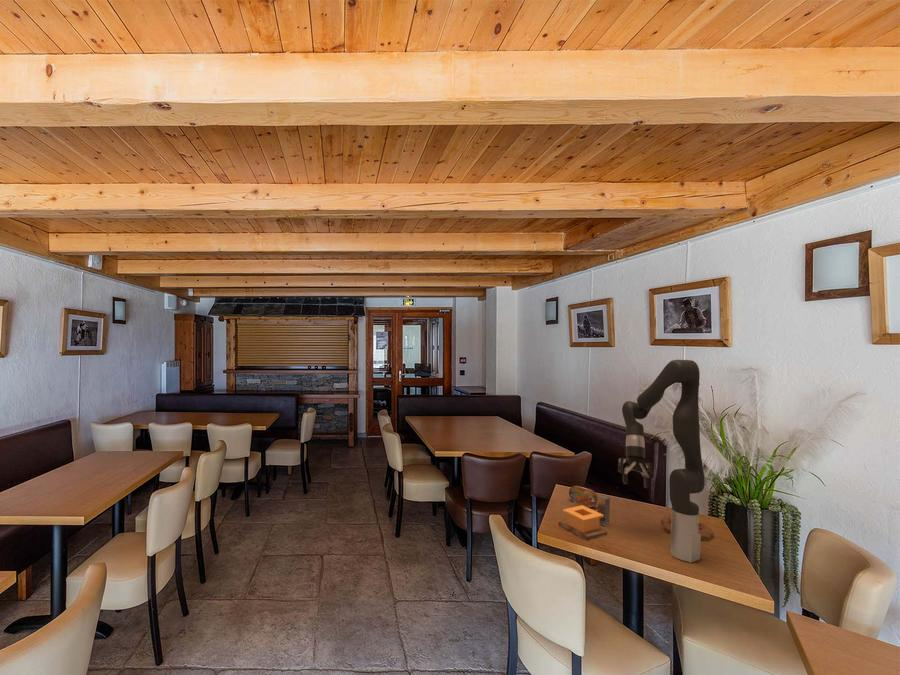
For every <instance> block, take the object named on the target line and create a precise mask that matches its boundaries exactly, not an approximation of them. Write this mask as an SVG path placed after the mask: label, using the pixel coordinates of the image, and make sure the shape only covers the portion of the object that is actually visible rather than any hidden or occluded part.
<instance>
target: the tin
mask: <svg viewBox="0 0 900 675" xmlns="http://www.w3.org/2000/svg"><path fill="white" fill-rule="evenodd" d="M568 496H569V498H570V500H571V501H572V502H573V503H574V502H575V503H574V504H577V503H578V504H577V505H579V506H581V505H583V506H585V507H587V508H589V507H590V508H593V507H596V506H597V505H598V495H597V493H596V492H595V491H594V490H593V489H590V488H587V487H582V486H579V485H572V486H571V487H570V488H569V491H568Z"/></svg>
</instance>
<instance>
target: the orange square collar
mask: <svg viewBox="0 0 900 675" xmlns="http://www.w3.org/2000/svg"><path fill="white" fill-rule="evenodd" d="M562 512H563V513H565V514H566V519H565V520H566V524H567V525H569V526H571V527H573V528H575V529H577V530H579V531H581V532H583V533H585V532H588V531H592V530H596V529H599V527H600V525H599V520H600V518H601V517H604V515H603V514H601V513H598V511H596V510H593V509H591V507H590V508H589V507H586V506H583V505H578V506H577V505H576V506H573V507H567V508H564V509H562Z"/></svg>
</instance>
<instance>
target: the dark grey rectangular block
mask: <svg viewBox="0 0 900 675" xmlns="http://www.w3.org/2000/svg"><path fill="white" fill-rule="evenodd" d="M597 498H598V501H597V512H598V513H601V514H603V515H604V517H601V518H600V520H599V524H601V525H600V526H602V525H603V526H602V527H604V526H605V527H607V526H609V525H610V510H611V509H610V506H611V497H609V496H605V495H600V496H597ZM608 524H609V525H608ZM606 525H607V526H606Z"/></svg>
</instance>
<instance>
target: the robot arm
mask: <svg viewBox="0 0 900 675" xmlns="http://www.w3.org/2000/svg"><path fill="white" fill-rule="evenodd" d="M700 373H701V372H700V367H699V365H698V363H697V362H695V361H694V360H691V359H673V360H670V361H668V363H667V364H666V365H665V366H664V367H663V369H662V370H661V372H660V373H659V374H658V375H657V377H655V379H654V381H653V382H652V383H651V384H650V385H649V386H648V387H647V388H646V389H645V390H643V391H642V392H641V393H640V394H639V395H638V396H637V398H636V402H635V401H631V400H628V401H625V402H624V403H623V405H622V408H621V412H622V417H623V420H624V423H625V424H624V425H625V427H626V429H625V432H626V438H625V458H624V457H620V458H618V461H617V462H618V463H617V472H618V473H620V474H621V475H622V483H623V485H628V482H629V481H628V474H629V472H637V473H640V475H642V477H643V488H644V489H648V488H649V486H650V479H651V478H654V477H655V474H654V466H653V465H654V464H653V462H646V460H645V459H646V448H645V447H646V446H645V445H646V443H645V434H644V433H645V432H644V431H645V430H644V425H643V424H642V423H640V422H638V421H637V420H644V419H646V418H647V417H648V415H649V413H650V411H651V410H652V408H653V407H654V406H656V405H657V404H658V403H659V402H660V401H662V399H663V397H664V396H665V391H666V390H667V389H668V388H669V387H670V386H673V385H674V384H681V394H680V395H681V396H680V399H679V401H678V403H677V405H676V407H675V409H674V412H673V413H672V433H673V436H674V438H675V440H676V442H677V444H678V446H679V447H680V448H681V451H682V453H683V456H684V466H685V467H684V468H677V469H673V470H672V471H671V472H670V475H669V480H668V481H669V485H668V486H669V501H670V504H671V516H670V517H671V535H670V549H669V550H670V551H669V552H670V555H671V556H672V557H674V558H675V559H678V560H681V561H684V562H688V563H694V562H697V561H700V560H701V546H702V545H701V542H702V541H701V534H699V533H698V528H699V521H700V519H699V518H700V508H699V505H698V504H697V503H696V502H693V501H691V494H699V493H701V492H703V490H704V489H705V486H706V480H705V472H704V465H703V460H702V448H701V433H700V432H701V429H700V414H699V412H700V411H699V409H700V408H699V393H700V392H699V391H700V376H701V375H700ZM624 464H626V466H625V467H624ZM645 467H646V468H645ZM646 469H647V470H646Z"/></svg>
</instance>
